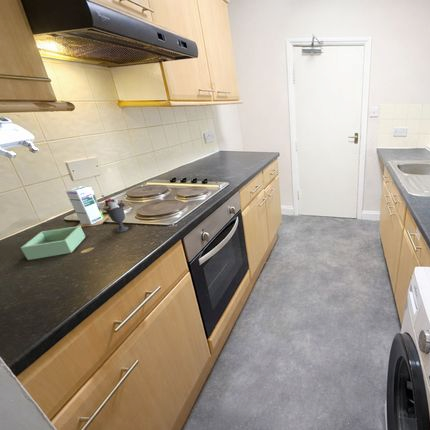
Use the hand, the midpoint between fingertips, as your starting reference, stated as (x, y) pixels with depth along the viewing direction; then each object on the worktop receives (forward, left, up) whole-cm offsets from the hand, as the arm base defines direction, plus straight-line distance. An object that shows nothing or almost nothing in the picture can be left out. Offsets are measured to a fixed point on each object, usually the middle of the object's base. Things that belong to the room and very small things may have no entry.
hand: (25, 154), depth 96 cm
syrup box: (+12, -2, -29) cm, 31 cm away
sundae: (+26, -16, -29) cm, 42 cm away
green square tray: (+9, -23, -29) cm, 38 cm away
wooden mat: (+12, -2, -29) cm, 31 cm away
